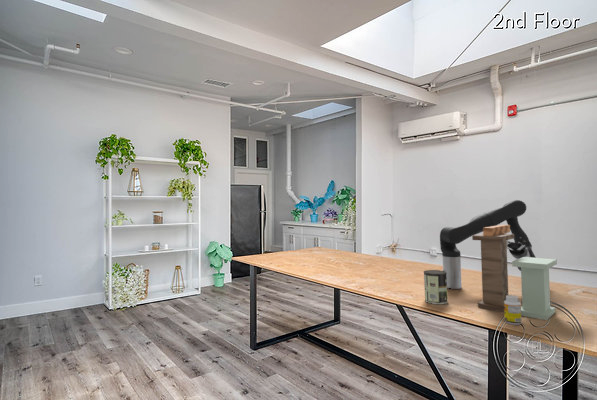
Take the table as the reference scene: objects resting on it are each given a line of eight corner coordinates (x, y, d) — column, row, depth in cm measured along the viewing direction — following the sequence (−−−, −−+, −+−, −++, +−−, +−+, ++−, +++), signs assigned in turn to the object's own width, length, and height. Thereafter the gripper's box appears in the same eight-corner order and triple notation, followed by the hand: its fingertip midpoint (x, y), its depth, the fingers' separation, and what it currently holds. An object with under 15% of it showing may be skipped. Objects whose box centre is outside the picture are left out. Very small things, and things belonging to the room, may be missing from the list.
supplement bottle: (506, 319, 138) (505, 293, 138) (522, 322, 135) (521, 295, 135) (503, 323, 134) (502, 296, 134) (520, 326, 130) (519, 298, 131)
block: (491, 236, 151) (491, 228, 151) (483, 235, 153) (482, 227, 153) (510, 232, 167) (509, 224, 167) (501, 231, 169) (501, 224, 169)
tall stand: (504, 313, 146) (501, 236, 147) (474, 307, 155) (472, 235, 156) (516, 305, 157) (514, 233, 158) (488, 300, 166) (485, 232, 166)
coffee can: (444, 298, 170) (443, 269, 171) (450, 304, 160) (449, 274, 160) (422, 298, 172) (421, 269, 172) (426, 304, 162) (425, 273, 162)
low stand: (549, 321, 135) (546, 264, 135) (514, 314, 144) (512, 261, 144) (558, 312, 146) (556, 259, 146) (525, 306, 154) (523, 256, 155)
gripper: (505, 244, 188) (495, 231, 179) (536, 246, 178) (527, 232, 168) (503, 257, 185) (493, 244, 176) (534, 260, 175) (526, 246, 166)
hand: (510, 238), depth 172 cm, fingers open, 8 cm apart
